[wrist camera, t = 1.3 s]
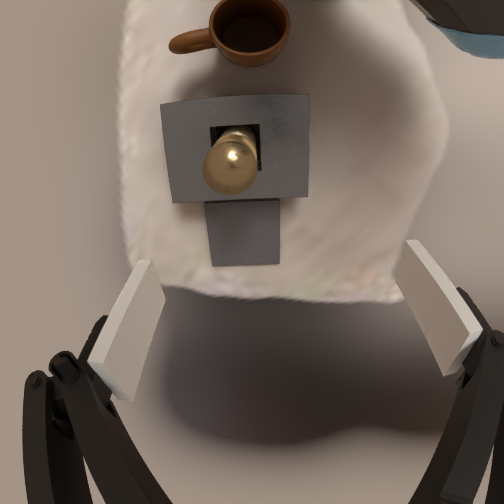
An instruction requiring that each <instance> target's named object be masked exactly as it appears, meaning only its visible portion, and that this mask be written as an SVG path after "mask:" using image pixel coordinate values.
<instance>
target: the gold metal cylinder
mask: <svg viewBox="0 0 504 504" xmlns="http://www.w3.org/2000/svg"><path fill="white" fill-rule="evenodd" d="M202 172H203V177H204V179H205V181H206V183H207V184H208V186H209V187H210V188H211V189H213V190H214V191H216V192H218V193H220V194H223V195H236V194H240V193H242V192H244V191H246V190H247V189H248V188H249V187H250V186H251V185H252V184H253V182H254V181H255V179H256V176H257V154H256V138H255V135H254V133H253V132H252V131H251V130H250V129H249V128H248V127H246V126H243V125H233V126H231V127H229V128H227V129H226V130H225V131H224V133H223V134H222V135H221V136H220V138H219V139H218V140H217V142H216V143H215V144H214V146H213V147H212V148H211V150H210V151H209V152H208V154H207V155H206V157H205V158H204V161H203V165H202Z"/></svg>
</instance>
